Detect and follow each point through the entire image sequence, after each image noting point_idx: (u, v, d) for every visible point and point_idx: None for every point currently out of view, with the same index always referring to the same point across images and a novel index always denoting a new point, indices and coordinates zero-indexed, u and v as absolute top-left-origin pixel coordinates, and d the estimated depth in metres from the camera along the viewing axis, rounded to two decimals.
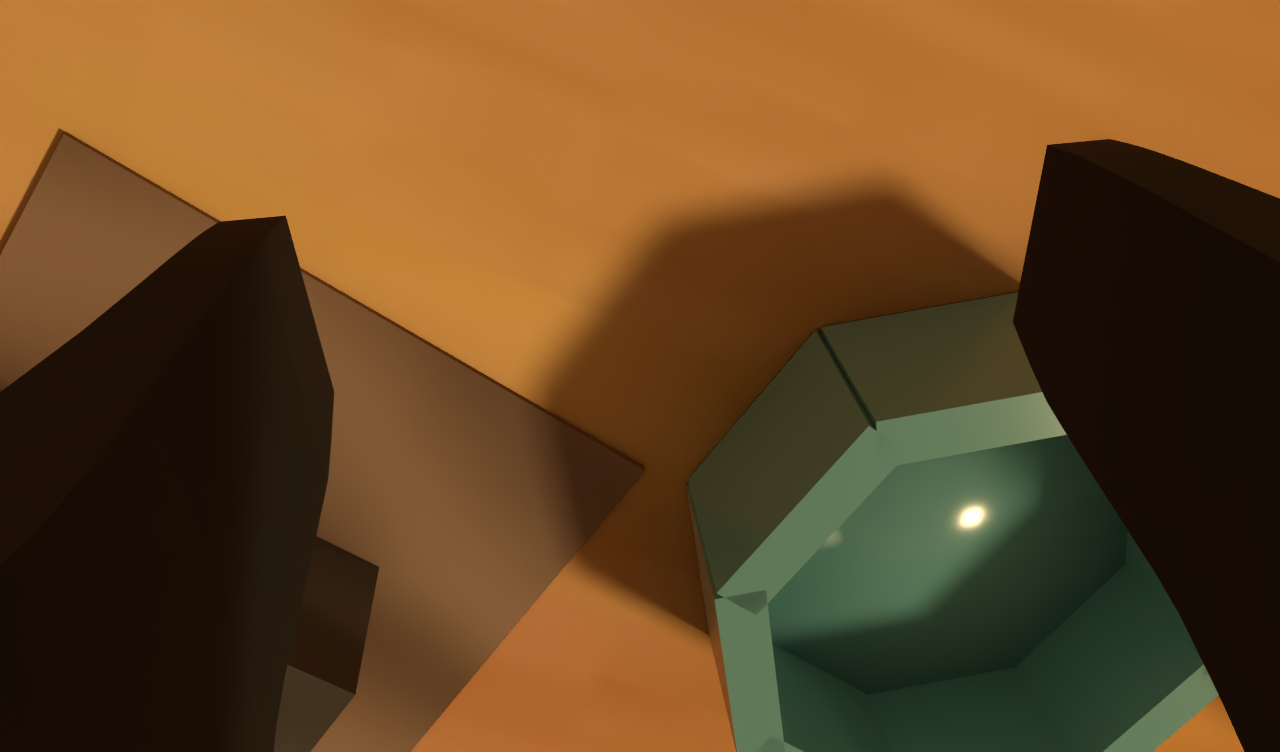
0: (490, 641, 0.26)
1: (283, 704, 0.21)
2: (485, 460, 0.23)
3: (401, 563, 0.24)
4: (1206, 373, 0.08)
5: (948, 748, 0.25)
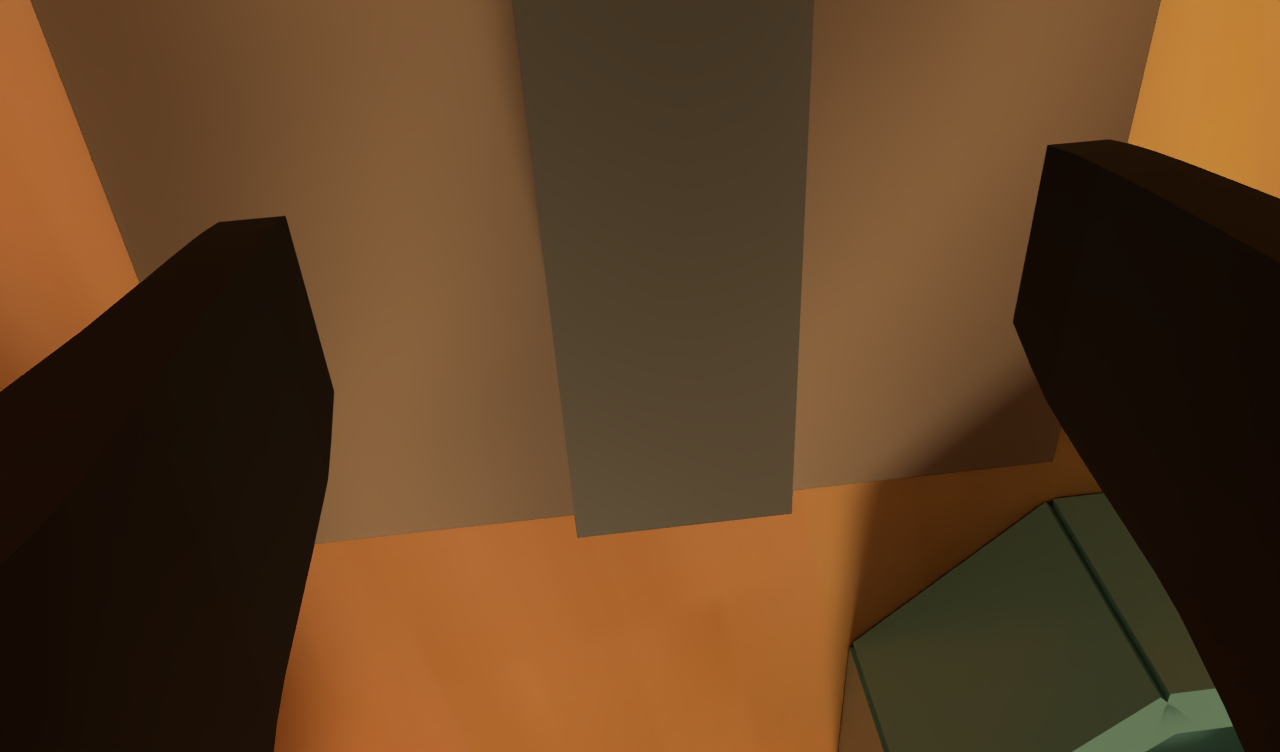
0: None
1: (710, 453, 0.11)
2: (977, 317, 0.16)
3: None
4: (1206, 372, 0.08)
5: None
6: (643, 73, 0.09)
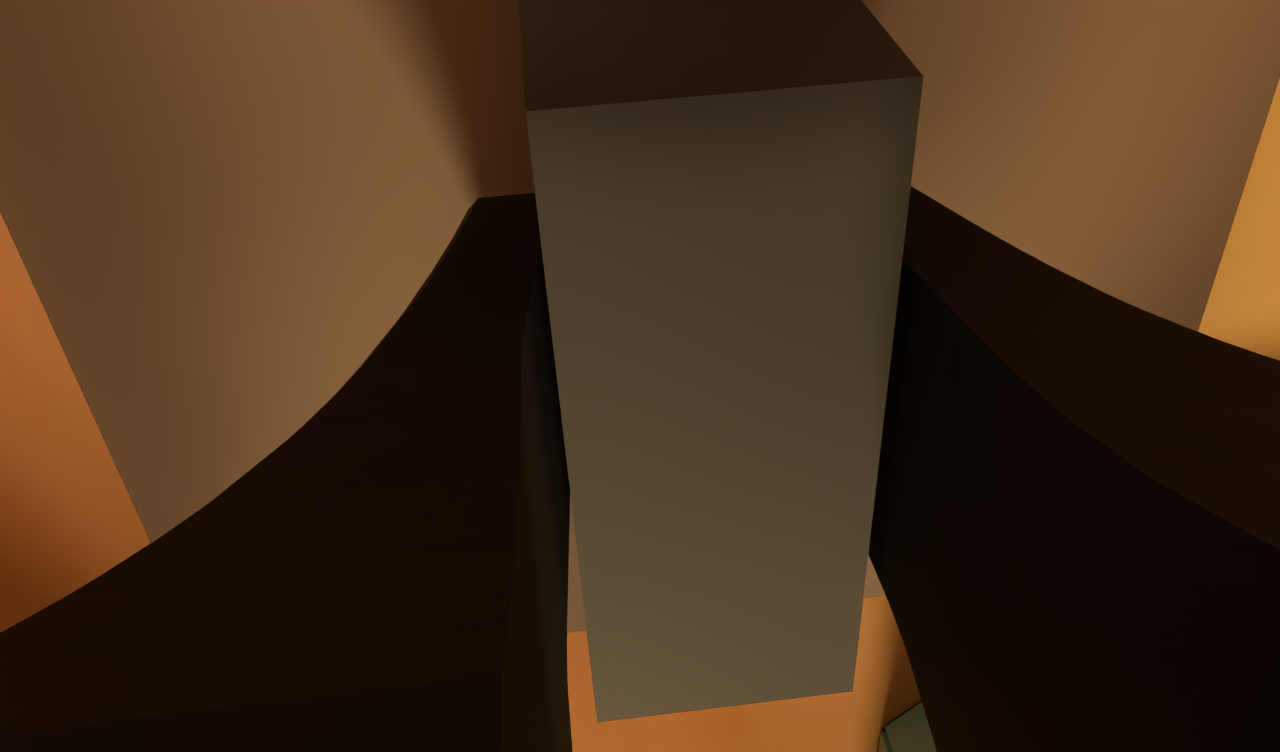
0: None
1: (760, 631, 0.10)
2: None
3: None
4: (906, 402, 0.08)
5: None
6: (694, 211, 0.07)
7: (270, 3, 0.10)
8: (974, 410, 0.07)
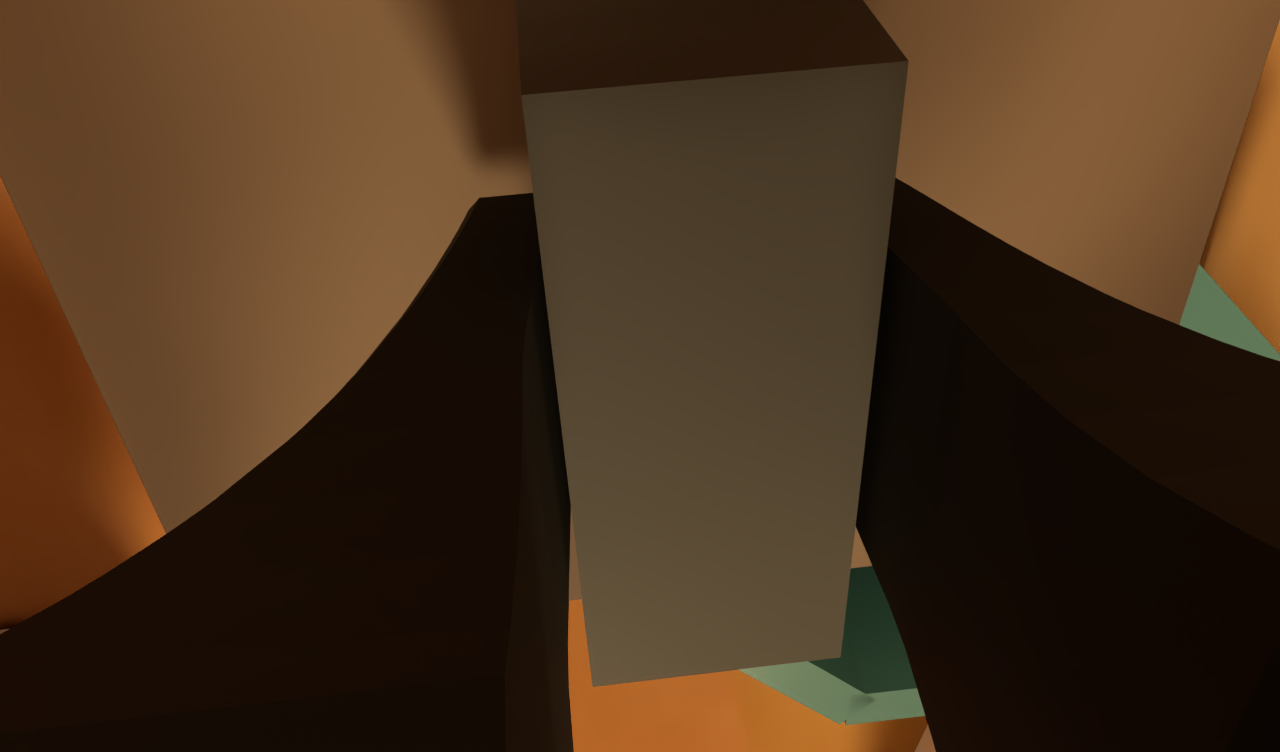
0: None
1: (750, 599, 0.10)
2: None
3: None
4: (905, 404, 0.08)
5: None
6: (687, 193, 0.07)
7: None
8: (973, 410, 0.07)
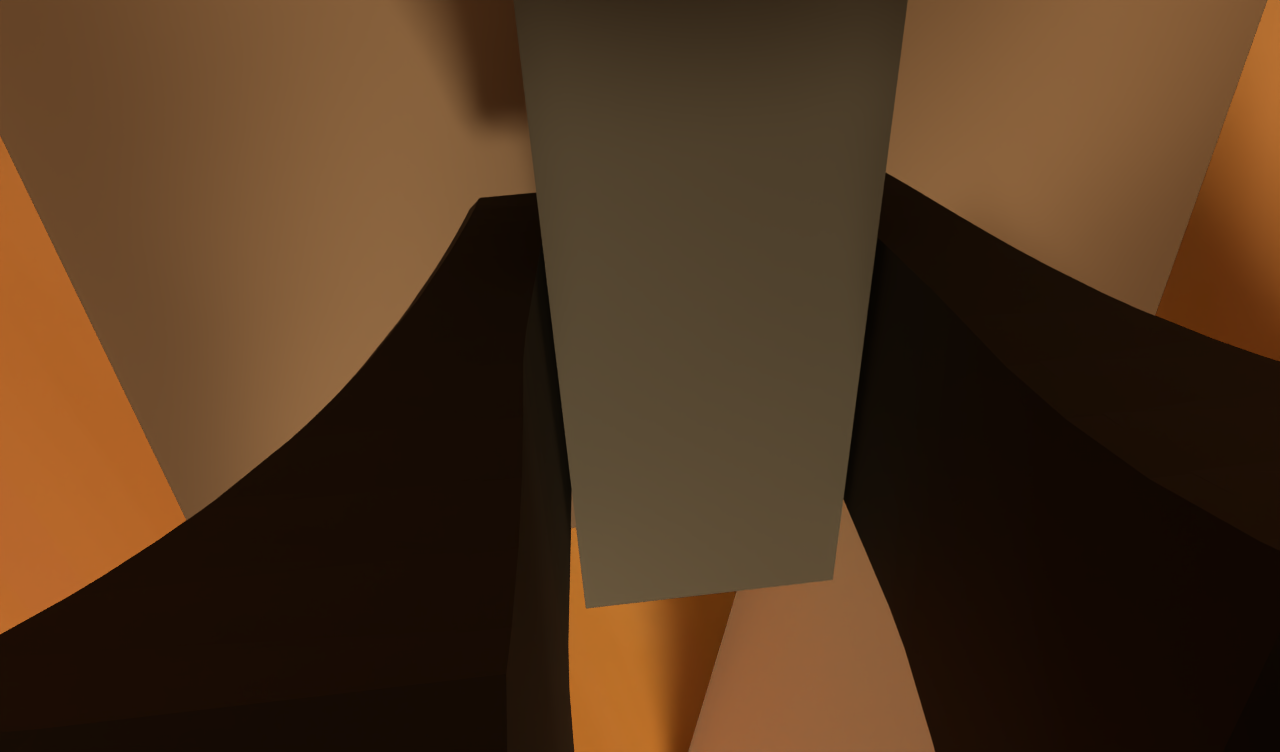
0: None
1: (744, 521, 0.10)
2: None
3: None
4: (903, 404, 0.08)
5: None
6: (682, 101, 0.07)
7: None
8: (972, 411, 0.07)
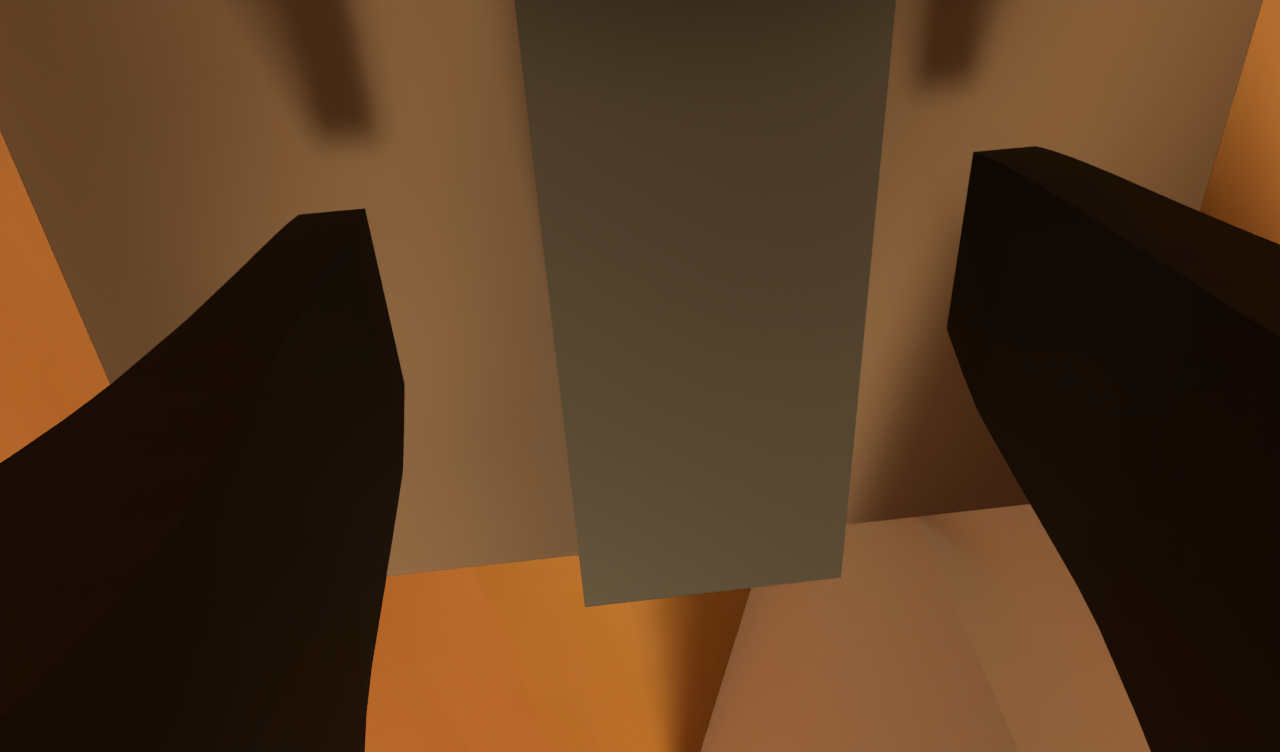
0: None
1: (747, 509, 0.10)
2: None
3: None
4: (1116, 381, 0.08)
5: None
6: (676, 44, 0.07)
7: None
8: (1223, 384, 0.07)
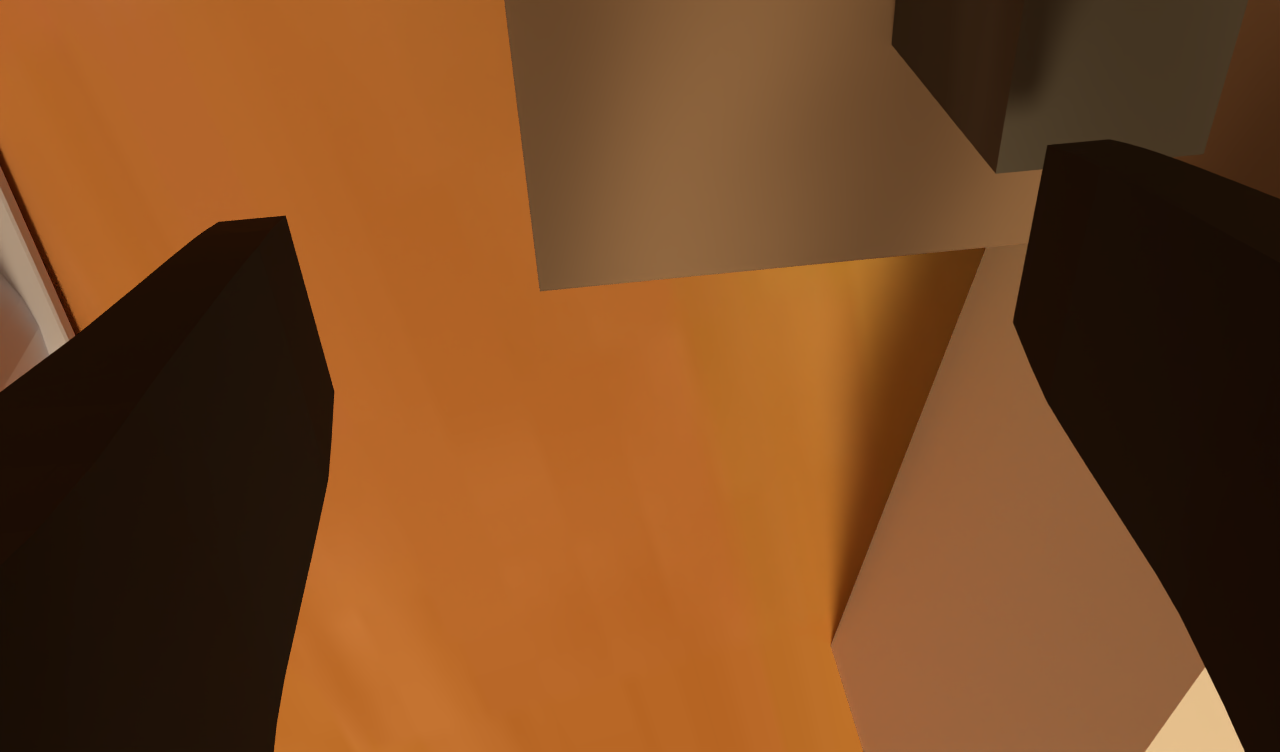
0: (988, 235, 0.17)
1: (1148, 73, 0.12)
2: None
3: None
4: (1207, 372, 0.08)
5: None
6: None
7: None
8: None
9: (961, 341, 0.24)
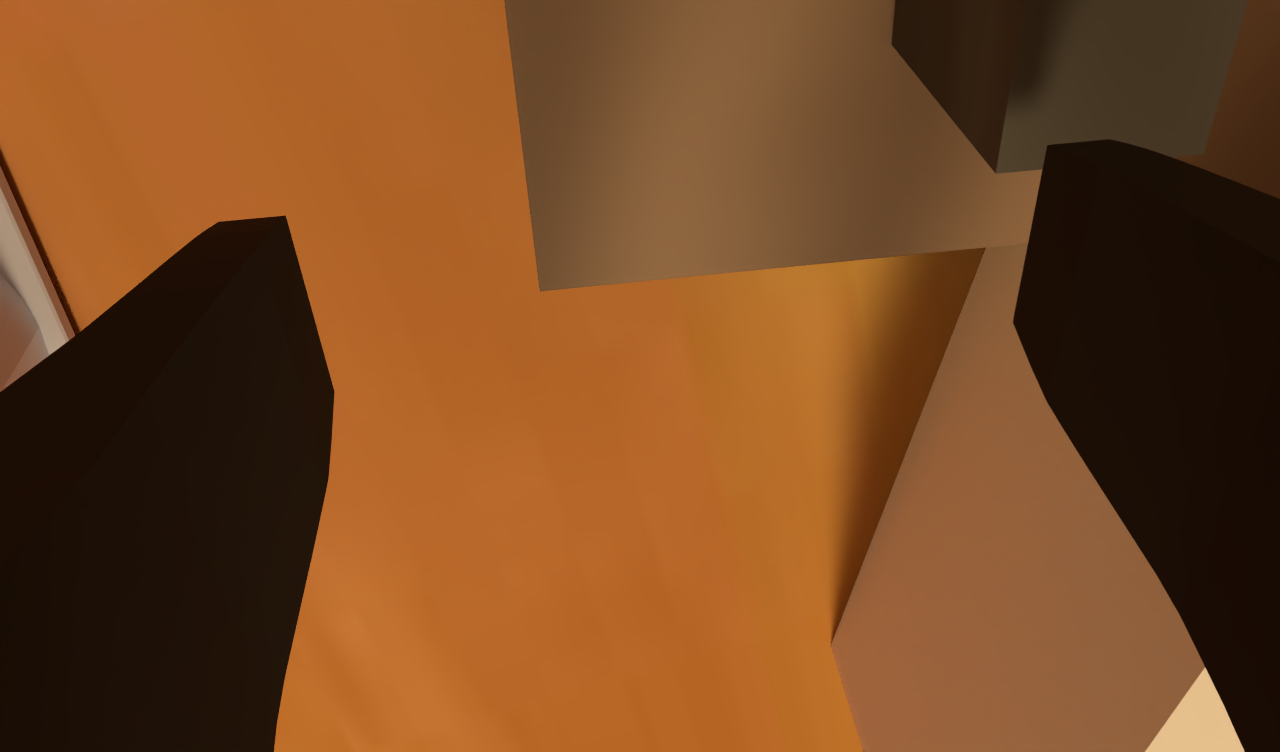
0: (988, 235, 0.17)
1: (1148, 73, 0.12)
2: None
3: None
4: (1207, 372, 0.08)
5: None
6: None
7: None
8: None
9: (961, 341, 0.24)
